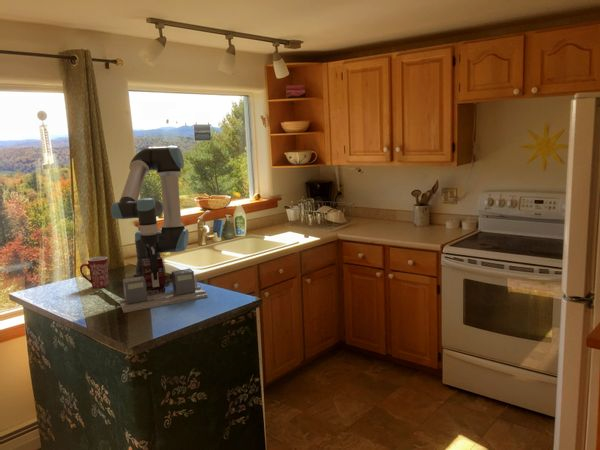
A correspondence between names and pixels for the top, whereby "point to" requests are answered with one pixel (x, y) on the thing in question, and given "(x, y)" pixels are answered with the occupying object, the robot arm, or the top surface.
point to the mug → (97, 271)
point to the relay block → (195, 281)
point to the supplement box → (148, 278)
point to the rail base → (181, 292)
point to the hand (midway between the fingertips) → (154, 284)
